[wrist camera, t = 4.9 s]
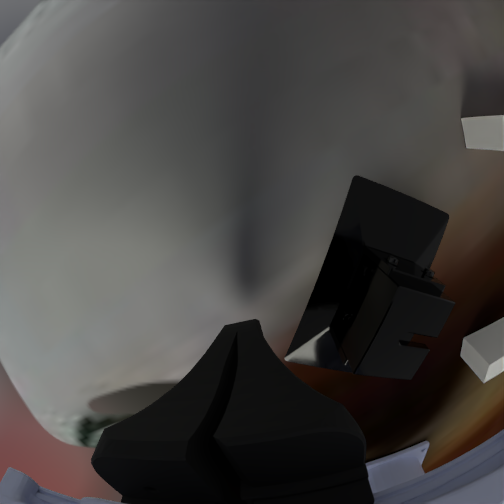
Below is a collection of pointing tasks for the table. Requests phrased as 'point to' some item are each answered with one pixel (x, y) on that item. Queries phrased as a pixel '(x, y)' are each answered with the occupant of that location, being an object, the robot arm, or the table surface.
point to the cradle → (500, 332)
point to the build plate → (376, 287)
